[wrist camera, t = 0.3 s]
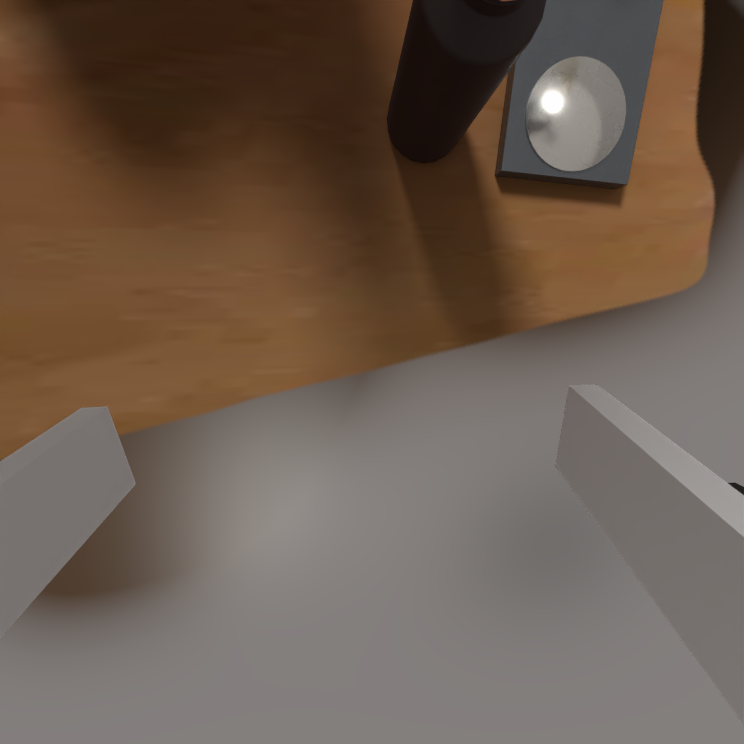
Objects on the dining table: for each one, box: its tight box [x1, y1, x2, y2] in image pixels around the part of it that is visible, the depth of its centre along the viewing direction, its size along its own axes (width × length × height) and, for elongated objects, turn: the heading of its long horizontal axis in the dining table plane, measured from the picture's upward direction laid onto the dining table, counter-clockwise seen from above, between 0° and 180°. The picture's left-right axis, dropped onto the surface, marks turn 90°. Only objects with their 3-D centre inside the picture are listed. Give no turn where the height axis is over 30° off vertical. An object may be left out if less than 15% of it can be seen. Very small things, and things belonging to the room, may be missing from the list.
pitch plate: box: [495, 0, 663, 189], centre depth 30 cm, size 24×12×6 cm, turn 175°
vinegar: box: [387, 0, 546, 163], centre depth 24 cm, size 7×7×20 cm
